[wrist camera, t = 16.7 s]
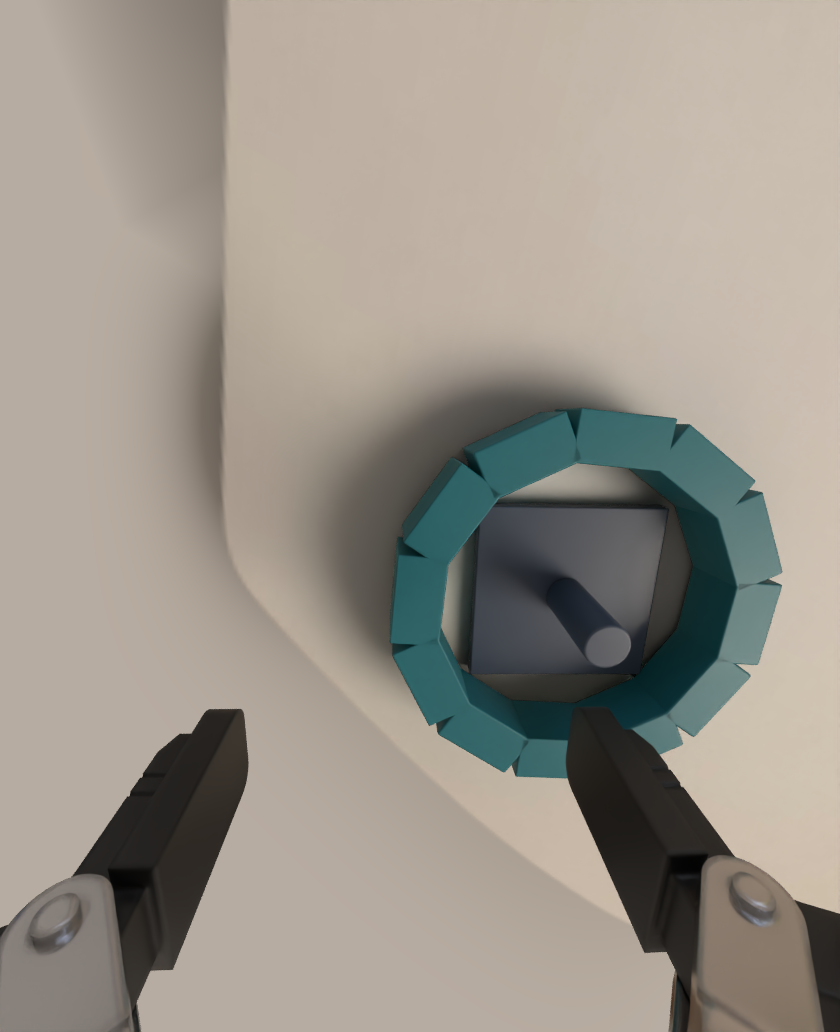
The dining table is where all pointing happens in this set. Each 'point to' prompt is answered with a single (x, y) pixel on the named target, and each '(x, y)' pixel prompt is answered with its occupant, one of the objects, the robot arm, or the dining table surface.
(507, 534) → the peg
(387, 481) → the dining table surface
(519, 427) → the ring
